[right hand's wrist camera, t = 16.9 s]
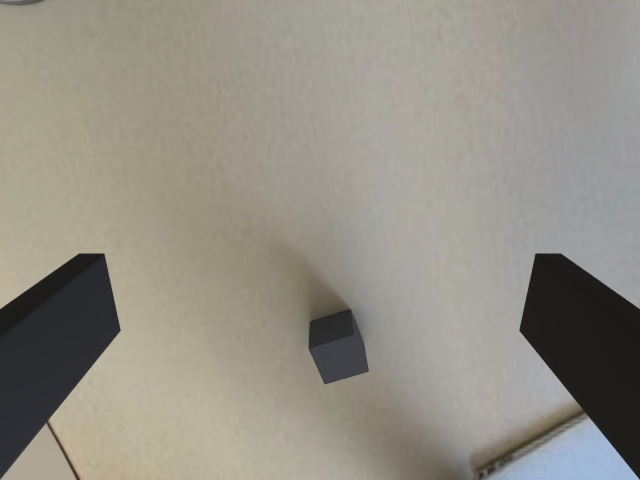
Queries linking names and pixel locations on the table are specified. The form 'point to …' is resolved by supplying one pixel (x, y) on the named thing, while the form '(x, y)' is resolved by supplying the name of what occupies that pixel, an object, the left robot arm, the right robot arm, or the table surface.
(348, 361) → the grey block
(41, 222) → the table surface
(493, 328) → the table surface
